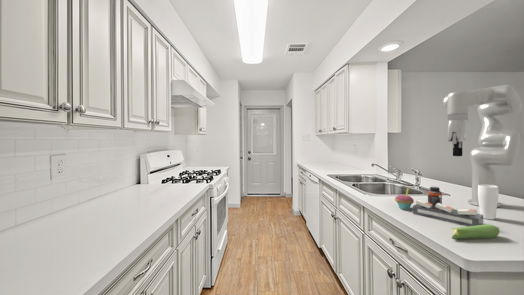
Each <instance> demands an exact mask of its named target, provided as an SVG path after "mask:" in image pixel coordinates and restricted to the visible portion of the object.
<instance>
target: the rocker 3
mask: <svg viewBox="0 0 524 295" xmlns="http://www.w3.org/2000/svg"><path fill="white" fill-rule="evenodd" d="M457 210H458V211H457V212H458V214H466V215H476V214H478V210H477V209H473V208H472V209H470V208H469V209H457Z"/></svg>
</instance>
